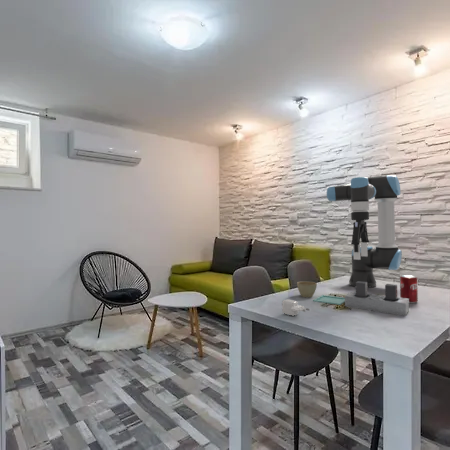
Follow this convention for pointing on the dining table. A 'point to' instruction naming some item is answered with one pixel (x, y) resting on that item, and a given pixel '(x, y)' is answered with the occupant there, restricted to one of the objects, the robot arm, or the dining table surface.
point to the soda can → (409, 288)
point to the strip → (380, 301)
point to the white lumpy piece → (292, 307)
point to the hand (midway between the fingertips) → (360, 257)
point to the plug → (361, 289)
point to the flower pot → (306, 288)
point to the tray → (330, 299)
